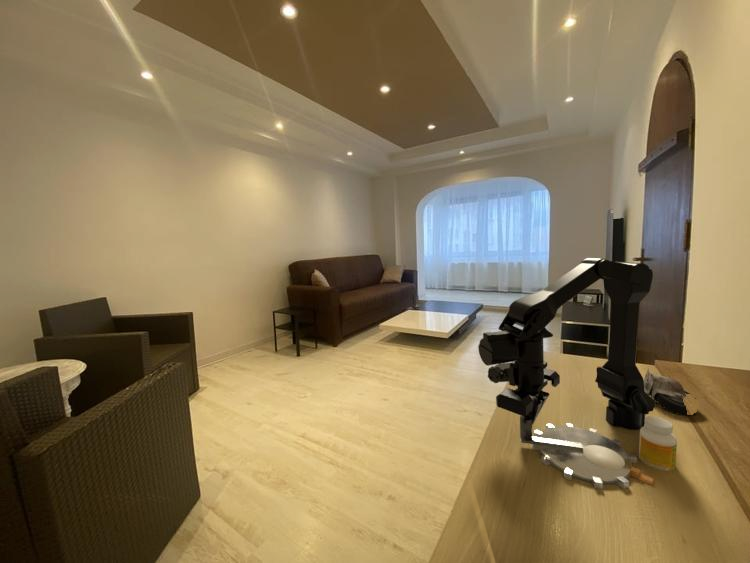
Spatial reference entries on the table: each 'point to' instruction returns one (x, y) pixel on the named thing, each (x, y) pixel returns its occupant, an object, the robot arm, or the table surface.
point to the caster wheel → (666, 392)
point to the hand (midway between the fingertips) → (530, 424)
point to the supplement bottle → (658, 444)
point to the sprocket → (581, 453)
